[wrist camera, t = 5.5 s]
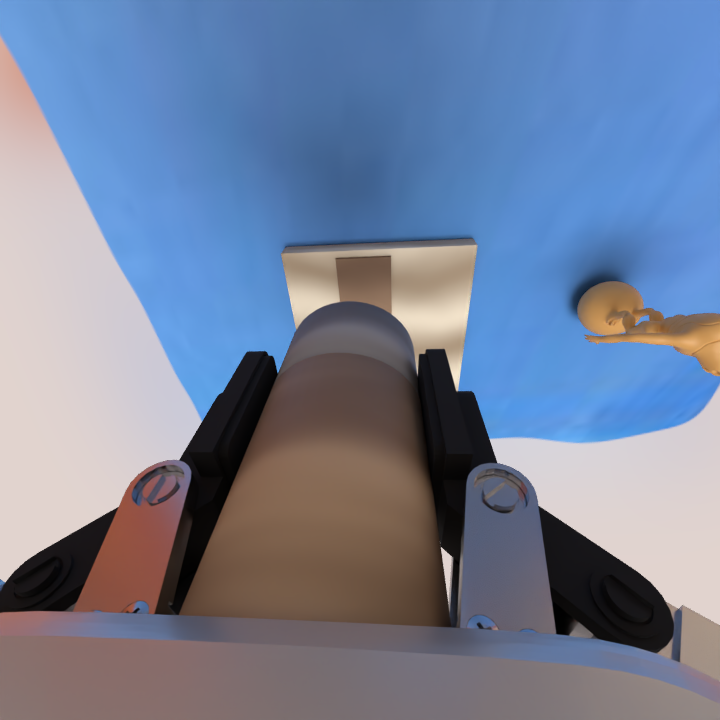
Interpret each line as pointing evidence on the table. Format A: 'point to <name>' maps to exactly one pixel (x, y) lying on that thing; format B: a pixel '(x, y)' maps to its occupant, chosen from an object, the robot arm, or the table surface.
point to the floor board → (392, 286)
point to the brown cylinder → (332, 488)
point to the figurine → (648, 324)
